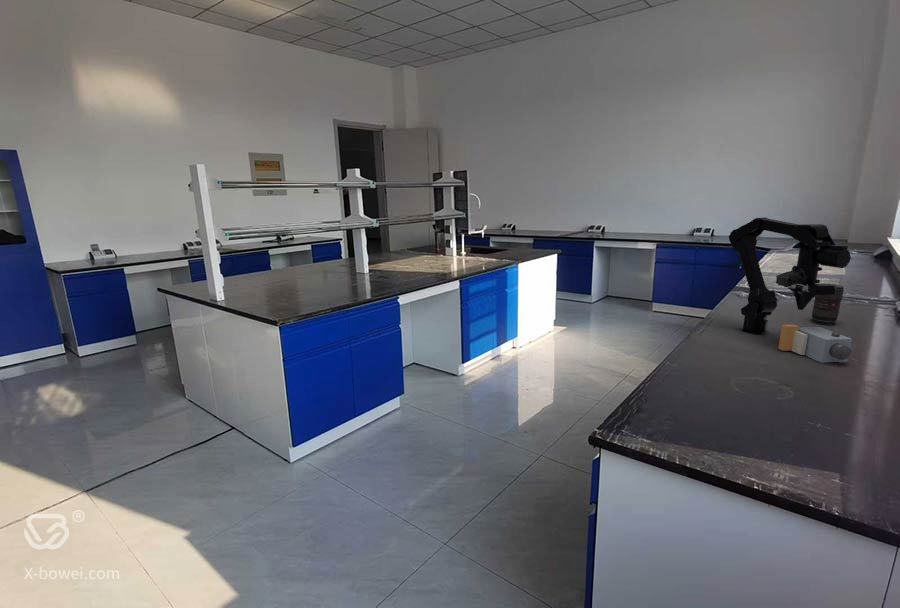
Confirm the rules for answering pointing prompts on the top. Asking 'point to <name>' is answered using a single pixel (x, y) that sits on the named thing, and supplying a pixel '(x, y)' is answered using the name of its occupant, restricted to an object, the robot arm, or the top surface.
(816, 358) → the grey knobbed box
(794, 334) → the side door
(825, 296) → the camera lens
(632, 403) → the top surface
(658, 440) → the top surface
